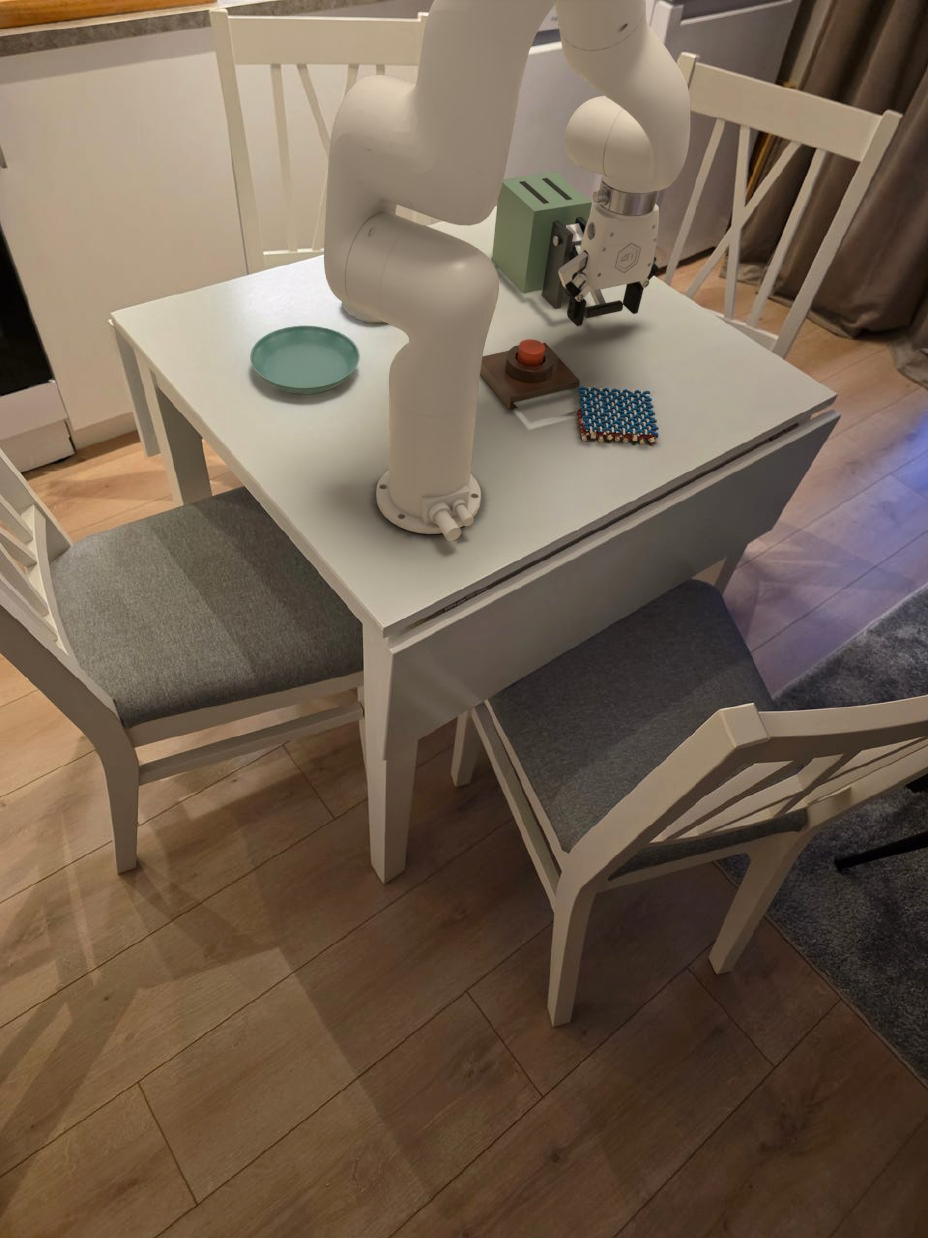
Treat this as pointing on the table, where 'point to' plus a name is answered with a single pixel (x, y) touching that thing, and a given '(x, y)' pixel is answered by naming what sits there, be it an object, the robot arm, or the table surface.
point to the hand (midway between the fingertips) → (602, 315)
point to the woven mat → (616, 415)
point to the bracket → (559, 261)
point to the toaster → (532, 224)
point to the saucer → (305, 358)
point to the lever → (598, 298)
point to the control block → (525, 376)
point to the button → (531, 352)
